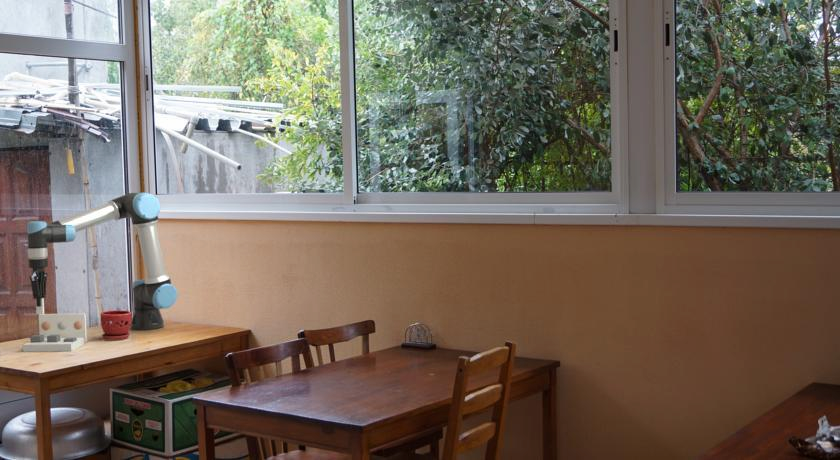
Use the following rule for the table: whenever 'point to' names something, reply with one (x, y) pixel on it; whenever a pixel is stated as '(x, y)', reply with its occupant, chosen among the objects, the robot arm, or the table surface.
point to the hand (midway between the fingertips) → (40, 313)
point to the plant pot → (116, 324)
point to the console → (52, 345)
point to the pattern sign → (63, 325)
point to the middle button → (53, 338)
